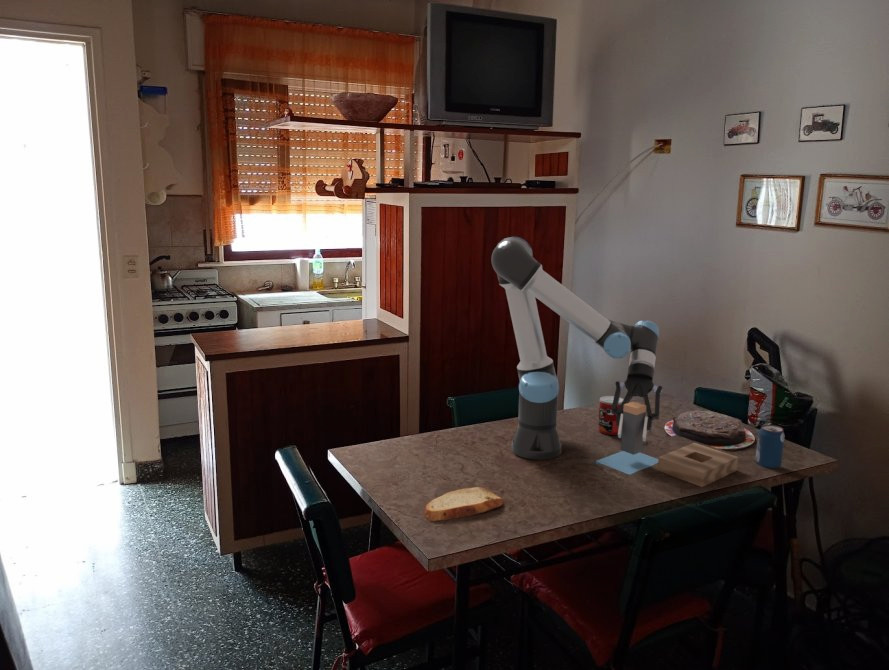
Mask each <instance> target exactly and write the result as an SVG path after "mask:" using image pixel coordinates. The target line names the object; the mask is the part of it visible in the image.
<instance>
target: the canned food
mask: <svg viewBox="0 0 889 670" xmlns="http://www.w3.org/2000/svg"><path fill="white" fill-rule="evenodd" d="M614 396H615V395H604V396H601V397H599V404H598V406H599V407H598V423H597V428H598V432H600V433H601V434H605V435H609V434H610V435H611V436H612V435H618V430H619V426H616V417H617V415H615V414H612V410H611V408H612V404H613V400H614ZM623 400H624V397H620V398H619V402H618V406H617V409H619V407H620V405H621V403H622V401H623Z"/></svg>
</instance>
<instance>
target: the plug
mask: <svg viewBox="0 0 889 670" xmlns="http://www.w3.org/2000/svg"><path fill="white" fill-rule="evenodd" d="M645 416H646V417H647V412H646V405H645V403H644V404H643V403H640V402H637V401H630V402H629V403H627V404H624V408H623V426H622V435H621V440H620V441H621V444H620V451H625V452H627V453H630V454H633V455H634V454H637V453H639V452H640V453H643V451H644V444H645V441H643V429H644V422H645Z"/></svg>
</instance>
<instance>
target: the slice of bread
mask: <svg viewBox="0 0 889 670" xmlns="http://www.w3.org/2000/svg"><path fill="white" fill-rule="evenodd" d="M503 499H504V498H503V497H500V496H498V495H497V494H495V493H494V492H492V491H490V490H489V489H487V488H484V487H481V486H475V487H467V488H464V487H463V488H461V489H456V490H452V491H448V492H446V493H444V494H443V495H441V496H437V497H435V498H434V499H432V500H431V501H429V502H428V503H427V504H426V506H425V507H424V511H423V516H424V519H425V520H428V521H430V522H431V521H432V522H435V521H436V522H437V521H447V520H452V519H453V520H454V519H459V518H465V517H471V516H476V515H478V514H483V513H485V512H490V511H491V510H493V509H498V508H499V507H502V505H504V500H503Z"/></svg>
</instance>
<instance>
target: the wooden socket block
mask: <svg viewBox="0 0 889 670" xmlns="http://www.w3.org/2000/svg"><path fill="white" fill-rule="evenodd" d="M657 459H658V463H657V471H659V472H661V473H664V474H666V475H669V476H671V477H674V478H676V479H679V480H681V481H684V482H686V483H687V482H688V483H691V484H692V485H696V486H698V487H700V488H703V487H705V486H708V485H709V484H712V483H713V482H716V481H718V480H720V479H722V478H724V477H726V476H728V475H730V474H733V473H735V472H737V471H738V464H739V456H737V455H733V454H731V453H727V452H724V451H722V450H721V451H720V450H719V449H716V448H713V447H710V446H709V447H708V446H706V445H704V444H701V443H698V442H697V443H696V442H692V443H689V444H687V445H685V446H683V447H682V446H681V448H678V449H677V448H676V449H674V450H673V451H670V452H666V453H665V454H662V455H661V456H658V458H657Z"/></svg>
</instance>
